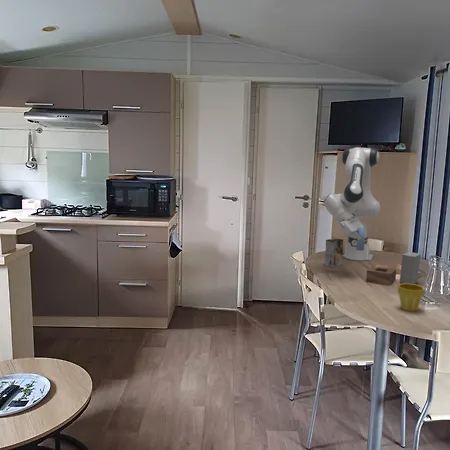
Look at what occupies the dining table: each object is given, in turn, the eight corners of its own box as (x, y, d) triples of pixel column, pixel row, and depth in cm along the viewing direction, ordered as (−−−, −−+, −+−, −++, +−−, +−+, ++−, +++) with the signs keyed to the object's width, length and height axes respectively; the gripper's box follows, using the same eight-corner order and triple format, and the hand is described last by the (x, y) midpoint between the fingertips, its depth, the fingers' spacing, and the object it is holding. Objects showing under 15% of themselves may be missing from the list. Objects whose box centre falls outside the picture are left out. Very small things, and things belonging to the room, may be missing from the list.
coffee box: (333, 263, 268) (334, 237, 266) (342, 265, 264) (343, 239, 261) (324, 265, 262) (325, 239, 260) (333, 267, 258) (334, 241, 255)
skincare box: (405, 280, 232) (407, 251, 230) (419, 282, 227) (421, 253, 225) (398, 283, 226) (400, 253, 224) (412, 286, 221) (414, 255, 219)
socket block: (372, 276, 238) (373, 266, 237) (395, 280, 231) (396, 269, 230) (366, 281, 228) (366, 270, 227) (389, 285, 222) (390, 274, 221)
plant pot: (427, 312, 183) (429, 289, 181) (403, 312, 182) (405, 290, 180) (414, 304, 193) (416, 283, 191) (392, 304, 192) (393, 283, 191)
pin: (357, 248, 238) (359, 227, 236) (365, 249, 236) (366, 227, 234) (355, 249, 235) (356, 228, 233) (362, 250, 233) (364, 228, 231)
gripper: (342, 217, 228) (360, 237, 224) (355, 213, 245) (372, 232, 241) (334, 224, 231) (351, 244, 227) (347, 220, 248) (363, 239, 244)
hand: (362, 238), depth 234 cm, fingers closed on pin, 4 cm apart
